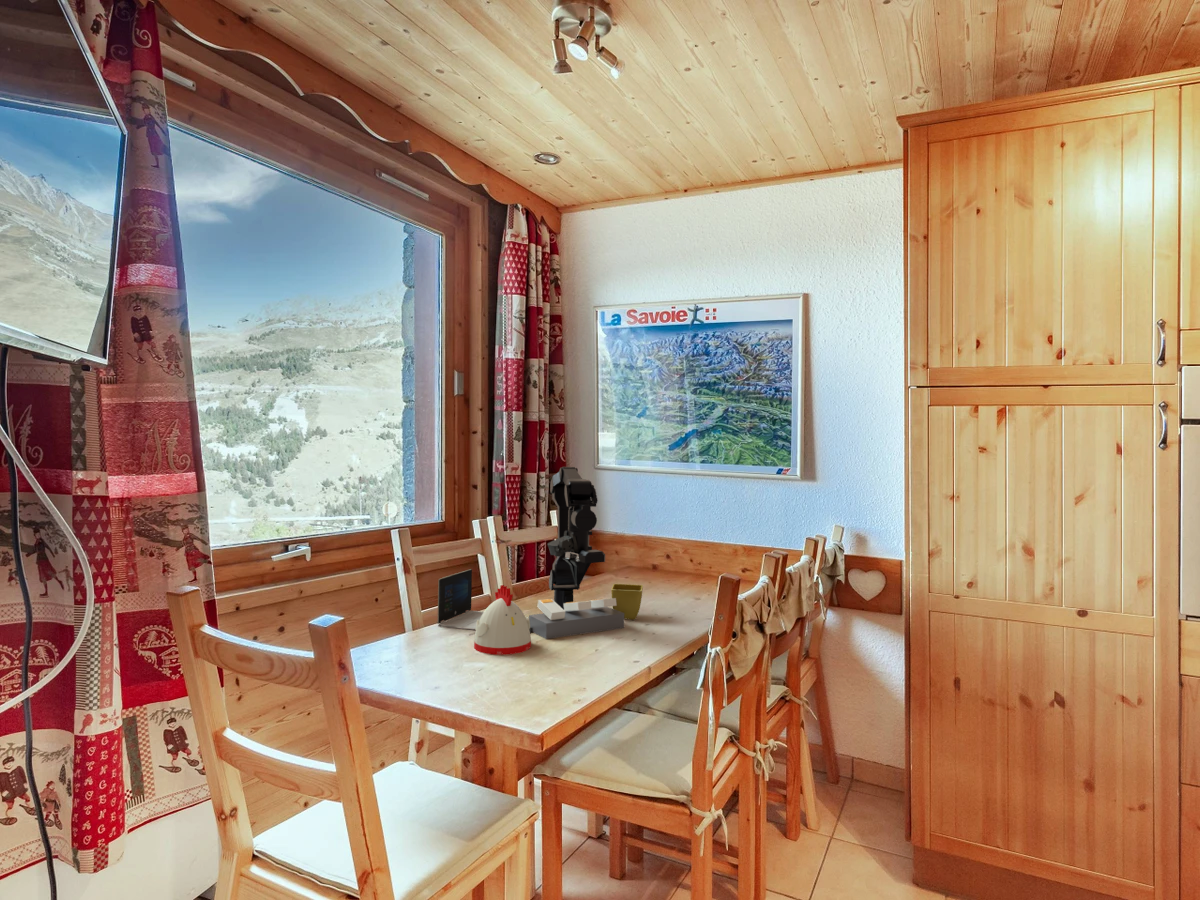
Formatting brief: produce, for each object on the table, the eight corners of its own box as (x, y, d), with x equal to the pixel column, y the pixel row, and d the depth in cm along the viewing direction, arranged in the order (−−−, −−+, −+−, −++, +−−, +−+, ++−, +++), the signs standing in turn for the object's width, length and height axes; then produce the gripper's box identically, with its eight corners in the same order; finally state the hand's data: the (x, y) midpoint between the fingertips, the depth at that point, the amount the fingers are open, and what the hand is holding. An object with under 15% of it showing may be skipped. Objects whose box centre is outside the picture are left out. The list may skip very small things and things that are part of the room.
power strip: (508, 632, 189) (508, 617, 189) (604, 619, 205) (604, 605, 205) (524, 642, 180) (525, 626, 180) (624, 627, 196) (624, 613, 196)
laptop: (477, 631, 190) (478, 582, 190) (436, 627, 194) (437, 579, 194) (508, 617, 207) (509, 571, 207) (470, 612, 211) (470, 568, 211)
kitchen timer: (488, 658, 167) (489, 593, 166) (465, 643, 178) (466, 583, 178) (541, 649, 174) (542, 587, 174) (515, 636, 186) (516, 578, 186)
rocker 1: (537, 607, 192) (538, 599, 192) (550, 605, 194) (551, 598, 194) (550, 620, 186) (551, 612, 185) (564, 618, 188) (565, 610, 187)
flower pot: (642, 615, 211) (643, 584, 211) (641, 622, 203) (642, 590, 203) (612, 613, 212) (613, 583, 212) (610, 621, 204) (610, 589, 203)
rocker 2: (564, 610, 196) (563, 602, 196) (576, 609, 198) (576, 601, 199) (578, 610, 189) (577, 601, 190) (591, 608, 192) (590, 600, 192)
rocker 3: (589, 607, 200) (588, 600, 201) (601, 606, 202) (600, 598, 203) (604, 607, 194) (603, 598, 194) (616, 605, 196) (615, 597, 196)
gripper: (536, 524, 197) (535, 581, 198) (569, 532, 182) (568, 593, 182) (571, 522, 203) (570, 577, 203) (606, 530, 188) (605, 589, 188)
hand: (577, 584), depth 194 cm, fingers closed
